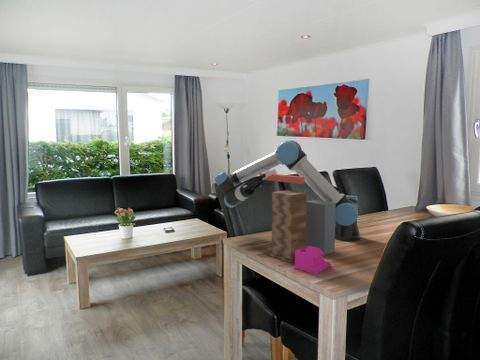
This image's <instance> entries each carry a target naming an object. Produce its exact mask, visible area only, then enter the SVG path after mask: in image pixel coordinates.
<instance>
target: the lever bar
mask: <svg viewBox="0 0 480 360" xmlns="http://www.w3.org/2000/svg"><path fill="white" fill-rule="evenodd" d="M263 173H264V172H263ZM263 173H260V174H259V176H261V175H262V174H263ZM265 180H269V182H280V183H287V184H289V183H290V184H297V185H302V184H303V185H304V184H305V177H301V176H299V175H290V174H280V173H279V174H278V173H277V174H272V175H270V176H269V177H268V178H266V179H265Z"/></svg>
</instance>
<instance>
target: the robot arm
mask: <svg viewBox="0 0 480 360" xmlns="http://www.w3.org/2000/svg"><path fill="white" fill-rule="evenodd" d="M279 165H282V166H283V165H284V166H286V168H287V169H288V170H289V171H291V172H292V171H293V172H295V173H296V174H297V176H301V177H305V181H304V183H305V184H306V185H308V187H309V188H311V190H312V191H313V192H314V193H315V194H316V195H317V196H318V198H320V200H321V201H327V202H334V203H336V210H335V240H339V241H349V242H350V241H357V240H360V239H361V232H360V229H359V226H358V218H359V210H358V208H359V207H358V204H359V197H358V196H357V195H346V194H345V193H340V192H339V191H338V190H337V189H336V188H335V187H334V186H333V185H332V184H331V183H330V182H329V181H328V180H327V179H326V178H325V177H324V176H323V174H321V173H320V172H319V170H317V168H316V167H315V166H314V165H313V164H312V163H311V162H310V161H309V160H308V155H307V154H306V153H305V152H304V150H302V146H301V145H300V143H299V142H298V141H295V140H285V141H282V142H281V143H280V144H278V146H277V148H275V150H274V151H273V152H272V153H269V154H268V155H265V156H263V157H262V158H259V159H257V160H256V161H254V162H251V163H250V164H247V165H246V166H244V167H241V168H240V169H237V170H236V171H233V172H231V173H230V174H228V173H227V172H225V171H222V172H221V173H219V174H217V175H216V176H215V177H214V182H215V183H216V185H217V186H218V188H219V189H220V191H221V192H222V193H223V195H224V197H223V198H224V199H223V202H224V205H225V206H226V207H227V208H234V207H236V206H238V205H239V204H241V203H242V202H245V201H246V199H248V198H250V197H252V196H253V195H254V194H255V191H256V190H257V189H258V188H263V187H264V186H265V185H267V184H268V183H269V182H270V181H269V180H265V179H266V178H268V177H269V176H270V175H272V174H278V173H277V169H276V168H275V167H277V166H279ZM273 168H274V169H273ZM271 169H272V170H271ZM260 173H263V174H262V175H261V176H260ZM246 181H247V182H246ZM240 184H241V185H240ZM238 185H239V186H238ZM236 186H237V187H236Z"/></svg>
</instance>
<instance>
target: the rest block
mask: <svg viewBox="0 0 480 360" xmlns="http://www.w3.org/2000/svg"><path fill="white" fill-rule="evenodd" d="M335 210H336V203H334V202H327V201H323V200H322V199H320V200H319V199H312V200H306V247H308V246H312V247H317V248H320V249H321V251H322V252H323V254H324V255H323V257H324V256H327V255H331V254H332V253H333V254H334V253H335V249H336V247H335V246H336V245H335V244H336V243H335V242H336V239H335Z"/></svg>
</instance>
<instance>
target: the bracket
mask: <svg viewBox="0 0 480 360" xmlns="http://www.w3.org/2000/svg"><path fill="white" fill-rule="evenodd" d="M330 267H332V264H331V263H330V261H327V260H325V258H324V254H323V252H322V251H321V249H320V248H317V247H312V246H308V247H306V249H303V248H301V249H299V250H296V251H295V262H294V268H295V269H297V270H299V271H300V270H301V271H304V272H308V273H311V274H314V275H317V274H319V273H321V272H323V271H325V270H326V269H328V268H330Z"/></svg>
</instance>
